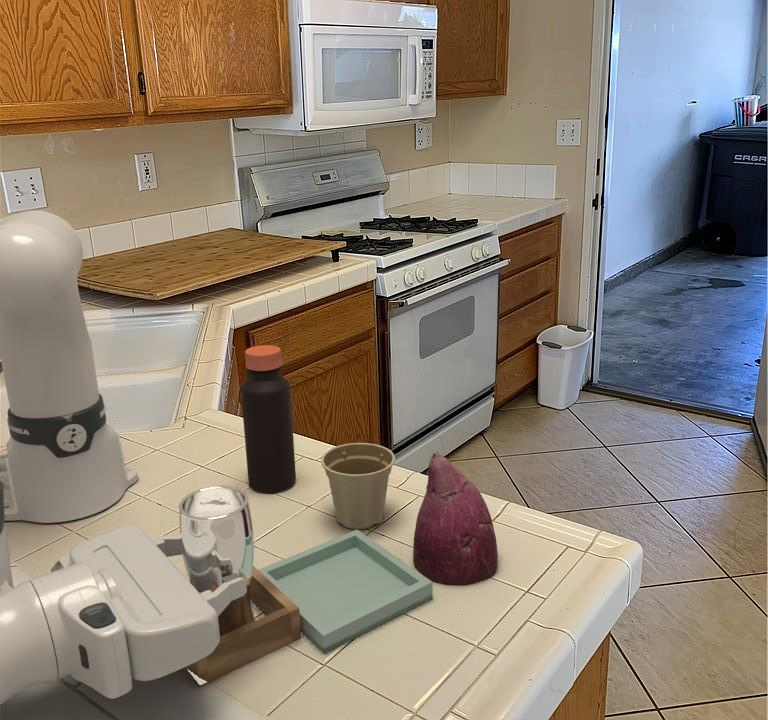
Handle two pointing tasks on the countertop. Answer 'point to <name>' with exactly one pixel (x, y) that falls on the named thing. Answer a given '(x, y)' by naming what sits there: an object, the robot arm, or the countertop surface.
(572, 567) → the countertop surface
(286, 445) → the bottle
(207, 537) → the beer glass
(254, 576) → the frame
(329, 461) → the flower pot
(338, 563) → the tray
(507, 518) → the countertop surface
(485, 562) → the vegetable
